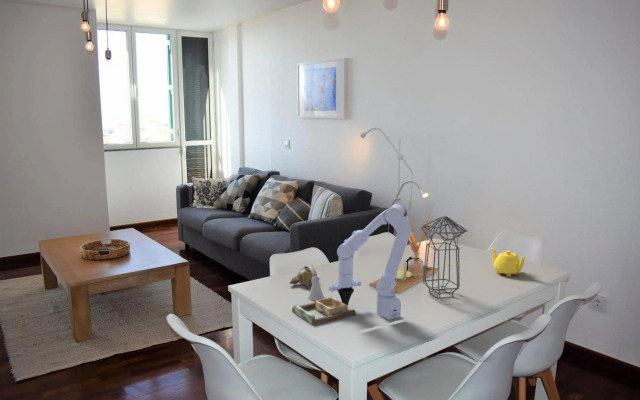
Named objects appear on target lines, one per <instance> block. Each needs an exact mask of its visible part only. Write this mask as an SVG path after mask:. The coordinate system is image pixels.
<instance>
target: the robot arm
mask: <svg viewBox="0 0 640 400" xmlns="http://www.w3.org/2000/svg"><path fill="white" fill-rule="evenodd" d="M387 224H390V225H391V226H392V227H393V228H394V231H395V232H396V236H395V238H394V242H393V244H392V248H391V251H390V254H389V256H388V260H387V262H386V266H385V268H384V271H383V273H382V276H381V277H380V280H379V281H378V282H377V283H376V285H375V290H376V308H375V309H376V311H375V313H376V315H377V316H379V317H382V318H384V319H387V320H388V321H389V320H392V319H397V318H403V315H401V314H402V313H401V312H402V311H401V310H402V309H401V308H402V302H401V300H400V299H399V298H398V297H397V295H396V291H395V287H396V285H397V276H398V271H399V268H400V265H401V261H402V259H403V256H404V253H405V251H406V247H407V245H408V243H409V239H410V235H411V233H412V227H411V223H410V219H409V212H408V210H407V208H405V206H404V205H402V204H401V203H395V204H392V205H391V206H390V207H389V208H387V209H385V210H384V211H382V212H381V213H380V214H378V215H377V216H375V218H374V219H372V221H371V222H369V223H368V225H366V226H365V228H363V229H358V230H354V231H353V232H352V233H351V235H350V237H348V238H346V239H344V240H343V243H341V244H340V245H339V246H338V247H337V250H336V254H337V257H338V268H337V269H338V274H337V275H338V278H337V282H336V283H334V284H330V285H329V286H328V291H330V293H332V292H333V293H334V291H337V292H338V294H339V298H340V302H342V303H344V304H346V305H347V307H348V306H349V302H350V299H351V297H352V295H353V293H354V291H355V289H354V288H353V287H360V286H362V280H360V279H356V280H355V279H354V280H353V278H354V277H353V276H354V260H353V259H354V256H353V255H354V254H355V253H356V252H357V251H358V250H360V248H361V247H362V246H363V245H365V244H366V243H368V240H369V236H370V235H371V234H372V233H374V231H376V230H378V228H380V226H383V225H387Z"/></svg>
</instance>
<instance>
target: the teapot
mask: <svg viewBox="0 0 640 400" xmlns="http://www.w3.org/2000/svg"><path fill="white" fill-rule="evenodd" d="M490 249H491V250H492V258H491V260H492V263H493V269H494V270H495V271H496V274H497V275H501V274H506V277H507V278H511V277H512V275H515V276H517V275H518V274H519V273H521V270H522V269H523V268H524V265H525V259H526V258H527V257H528V255H523V256H521V259H520V258H519V255H518V253H516V252H512V251H511V250H505V252H500V253H499V254H498V256H497V251H496V249H495V248H493V247H490Z"/></svg>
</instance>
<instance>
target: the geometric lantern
mask: <svg viewBox="0 0 640 400" xmlns="http://www.w3.org/2000/svg"><path fill="white" fill-rule="evenodd" d="M431 223H433V224H432V225H429V224H431ZM447 226H448V229H449V230H450V232H448V229H447ZM420 228H421V230H422V232H423V234H424V235H425V236H426V240H429V239H430V240H429V241H428V243H426V246H425V252H424V253H425V255H424V265H423V277H422V283H423V285H425V286H426V287H427V288H428V293H429V294H430V295H432V296H433V297H434V298H436V299H446V298H448V299H449V298H454V293H455V292H456V291H458V290H459V289H460V282H461V281H460V246H459V237H461V236H462V235H463V234H465V233H468V232H469V230H468V229H466V228H465V227H463V226H461V225H460V224H459V223H457V222H456V221H455V220H453V219H452V218H450V217H448V216H447V215H441V216H440V217H438V218H435V219H434V220H431V221H430V222H426V223H425V224H422V225H421V226H420ZM425 230H426V231H425ZM438 230H439V231H438ZM444 230H445V231H444ZM455 230H456V231H455ZM442 231H443V232H442ZM431 233H432V234H431ZM435 234H437V235H439V236H440V237H441V239H442V240H443V242H435V243H434V240H433V237H434V235H435ZM442 234H444V235H445V236H446V237H445V236H444V235H442ZM450 234H452V235H453V236H452V238H449V237H448V235H450ZM428 238H429V239H428ZM455 239H456V240H457V241H456V240H455ZM446 241H447V242H446ZM448 241H450V242H448ZM452 242H454V244H452ZM439 244H440V246H439V247H438V248H437V247H436V246H435V245H439ZM443 244H445V245H444V247H445V248H444V249H443V248H442V249H441V251H444V259H443V269H442V271H443V273H442V278H440V248H441V247H443ZM431 245H432V246H431ZM447 245H448V248H447ZM451 246H453V247H455V248H451ZM430 248H431V249H433V250H434V251H433V263H432V265H433V266H432V267H433V268H432V278H431V279H427V273H428V264H429V263H428V262H429V255H430ZM436 251H437V252H436ZM447 251H448V279H447V278H445V271H446V269H445V268H446V260H447V259H446V257H447ZM451 251H455V262H456V263H455V268H456V283H455V282H454V281H452V280H451V279H450V278H451ZM436 253H437V278H436V279H435V266H436ZM434 281H435V282H436V281H437V286H434ZM440 281H442V285H440ZM444 281H447V282H446V284H445V283H444ZM428 282H431V286H430V285H429V284H428ZM449 282H450V283H452V284H453V285H455V286H456V287H447V286H448V284H449ZM444 284H445V285H444ZM447 290H449V291H447ZM432 292H433V293H436V295H435V294H433V293H432ZM442 294H443V295H444V294H449V296H443V297H441V295H442Z"/></svg>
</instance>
